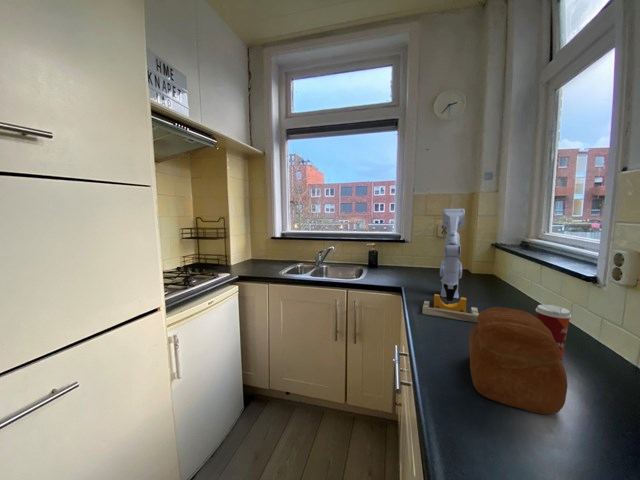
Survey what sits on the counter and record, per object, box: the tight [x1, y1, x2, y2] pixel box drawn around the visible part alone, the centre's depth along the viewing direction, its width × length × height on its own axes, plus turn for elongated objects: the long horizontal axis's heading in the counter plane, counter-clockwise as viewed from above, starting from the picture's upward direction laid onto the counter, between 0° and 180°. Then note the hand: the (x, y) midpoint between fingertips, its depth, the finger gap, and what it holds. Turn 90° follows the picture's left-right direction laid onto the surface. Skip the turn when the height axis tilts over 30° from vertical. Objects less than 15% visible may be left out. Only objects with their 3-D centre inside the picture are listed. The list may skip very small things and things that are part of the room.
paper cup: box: [535, 304, 572, 361], centre depth 74 cm, size 8×8×14 cm
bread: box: [468, 306, 568, 415], centre depth 62 cm, size 18×22×17 cm
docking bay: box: [421, 300, 480, 324], centre depth 106 cm, size 10×20×2 cm, turn 63°
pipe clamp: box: [433, 293, 467, 313], centre depth 109 cm, size 12×4×6 cm, turn 64°
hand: (449, 300), depth 117 cm, fingers closed
